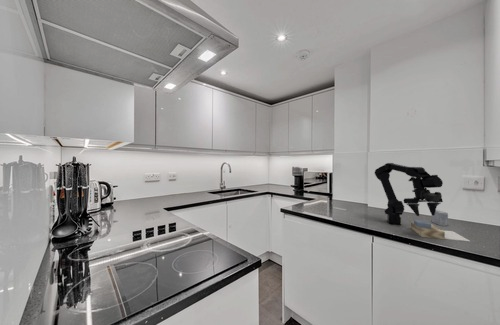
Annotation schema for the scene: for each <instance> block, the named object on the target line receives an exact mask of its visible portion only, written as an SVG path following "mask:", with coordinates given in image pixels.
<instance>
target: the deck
mask: <svg viewBox="0 0 500 325" xmlns="http://www.w3.org/2000/svg"><path fill="white" fill-rule="evenodd" d="M430 224H431V228H420V227H417V226H416V225H414V221H410V229H411V230H412V231H414V232H415V233H416V234H417V235H419V236H420V237H422V238H430V239H441V240H446V239H445V232H444V231H445V230H444V231H442V229H440V228H439V227H438V226H435V225H434V224H432V223H430Z"/></svg>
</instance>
